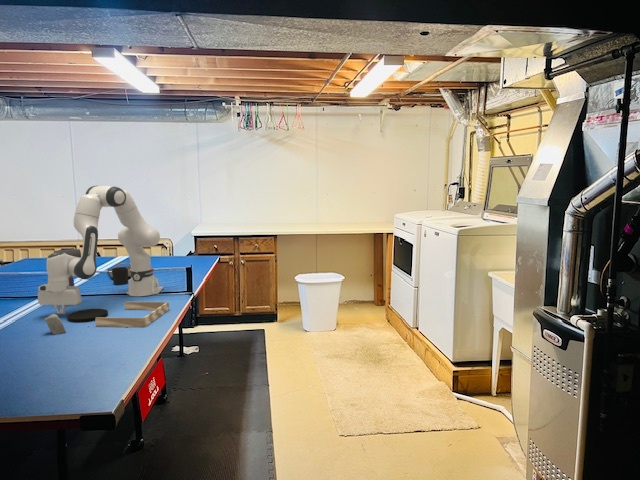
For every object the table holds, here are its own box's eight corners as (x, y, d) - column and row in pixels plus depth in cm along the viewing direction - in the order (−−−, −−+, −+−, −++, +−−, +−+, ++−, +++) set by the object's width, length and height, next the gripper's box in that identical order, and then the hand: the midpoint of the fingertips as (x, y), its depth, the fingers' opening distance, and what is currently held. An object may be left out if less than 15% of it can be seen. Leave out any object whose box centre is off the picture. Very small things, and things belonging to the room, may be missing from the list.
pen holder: (131, 282, 300) (130, 267, 298) (124, 285, 291) (123, 270, 289) (117, 282, 301) (116, 267, 299) (109, 285, 291) (108, 269, 290)
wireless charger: (114, 312, 233) (113, 308, 233) (98, 323, 216) (98, 318, 215) (78, 312, 233) (78, 309, 232) (59, 323, 215) (59, 319, 215)
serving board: (106, 271, 337) (106, 263, 337) (140, 268, 348) (139, 260, 348) (111, 281, 304) (110, 272, 303) (148, 278, 315) (147, 269, 314)
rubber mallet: (85, 301, 253) (80, 247, 249) (84, 304, 247) (80, 249, 243) (59, 304, 248) (54, 249, 244) (58, 307, 241) (53, 251, 237)
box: (125, 309, 237) (125, 301, 236) (169, 309, 235) (168, 302, 235) (95, 326, 209) (95, 317, 209) (144, 327, 208) (144, 318, 207)
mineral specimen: (59, 326, 207) (60, 310, 205) (67, 334, 202) (68, 317, 200) (41, 330, 202) (42, 313, 200) (49, 338, 196) (50, 321, 195)
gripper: (83, 284, 225) (85, 311, 227) (43, 284, 227) (45, 311, 229) (75, 287, 219) (77, 315, 221) (34, 287, 221) (37, 315, 222)
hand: (61, 313), depth 225 cm, fingers closed
